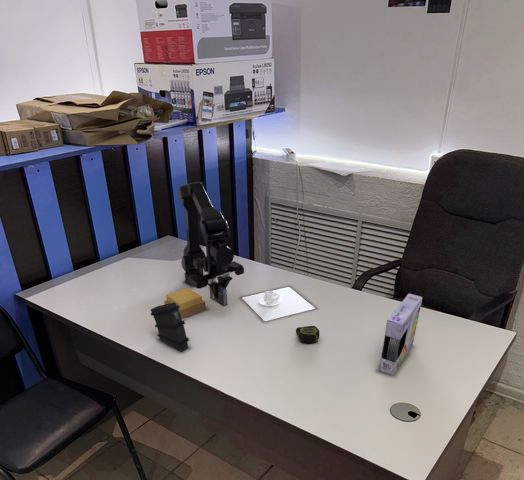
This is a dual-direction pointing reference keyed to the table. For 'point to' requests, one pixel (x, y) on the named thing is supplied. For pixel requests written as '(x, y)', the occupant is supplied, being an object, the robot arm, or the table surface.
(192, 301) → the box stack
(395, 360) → the cake pan box
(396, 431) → the table surface
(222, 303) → the mini dv tape
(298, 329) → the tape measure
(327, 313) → the table surface
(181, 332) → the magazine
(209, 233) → the robot arm
